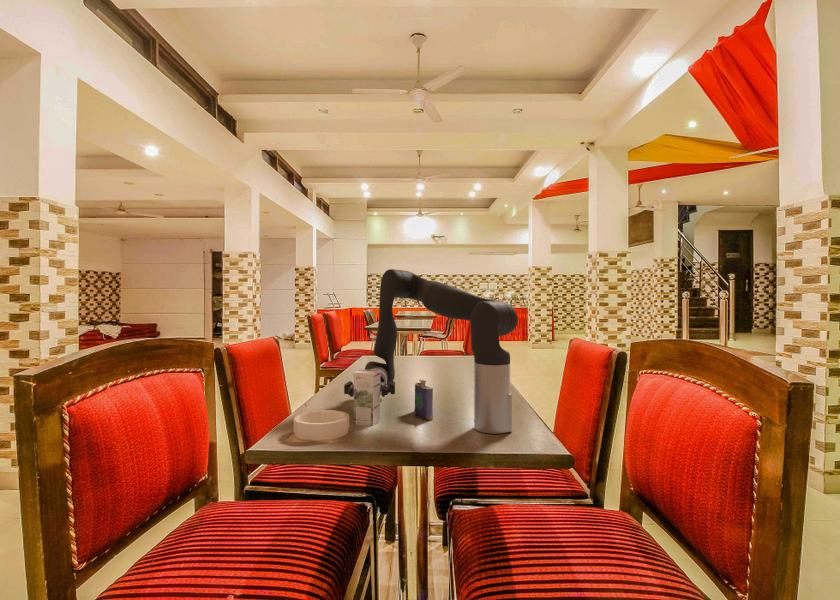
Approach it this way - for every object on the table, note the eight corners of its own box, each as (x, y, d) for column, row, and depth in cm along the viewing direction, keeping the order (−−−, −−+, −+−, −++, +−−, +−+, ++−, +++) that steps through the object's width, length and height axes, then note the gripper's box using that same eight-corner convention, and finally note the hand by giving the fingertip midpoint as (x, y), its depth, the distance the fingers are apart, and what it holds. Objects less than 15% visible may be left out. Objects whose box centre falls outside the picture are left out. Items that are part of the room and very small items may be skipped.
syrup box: (381, 422, 122) (381, 369, 122) (373, 428, 117) (373, 372, 117) (361, 420, 124) (361, 368, 124) (352, 426, 118) (353, 371, 118)
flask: (434, 420, 125) (434, 381, 124) (425, 421, 123) (424, 382, 123) (420, 412, 133) (420, 376, 133) (411, 413, 132) (411, 377, 132)
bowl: (352, 425, 117) (352, 410, 117) (343, 441, 104) (343, 424, 104) (302, 425, 117) (302, 410, 117) (287, 441, 104) (287, 424, 104)
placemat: (354, 427, 117) (354, 425, 117) (345, 444, 103) (345, 442, 103) (301, 427, 117) (301, 424, 117) (284, 444, 103) (284, 441, 103)
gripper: (350, 369, 136) (340, 379, 120) (397, 369, 136) (393, 379, 120) (350, 394, 136) (340, 407, 120) (397, 394, 136) (393, 407, 120)
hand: (367, 393), depth 120 cm, fingers open, 8 cm apart
